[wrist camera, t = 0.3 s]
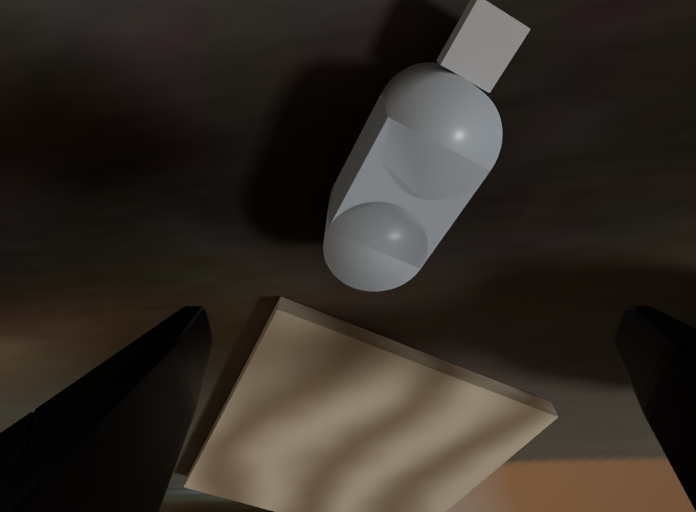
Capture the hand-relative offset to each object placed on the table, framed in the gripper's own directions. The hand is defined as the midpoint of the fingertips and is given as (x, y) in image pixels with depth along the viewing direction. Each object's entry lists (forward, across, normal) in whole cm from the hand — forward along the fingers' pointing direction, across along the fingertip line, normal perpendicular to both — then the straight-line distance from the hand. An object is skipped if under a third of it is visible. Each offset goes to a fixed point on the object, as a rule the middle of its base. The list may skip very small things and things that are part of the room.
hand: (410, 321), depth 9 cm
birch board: (+13, +2, +22) cm, 26 cm away
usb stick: (+13, -1, 0) cm, 13 cm away
